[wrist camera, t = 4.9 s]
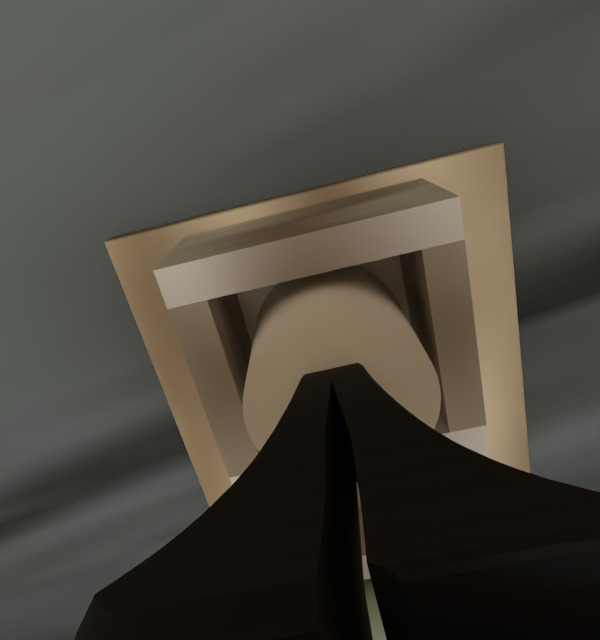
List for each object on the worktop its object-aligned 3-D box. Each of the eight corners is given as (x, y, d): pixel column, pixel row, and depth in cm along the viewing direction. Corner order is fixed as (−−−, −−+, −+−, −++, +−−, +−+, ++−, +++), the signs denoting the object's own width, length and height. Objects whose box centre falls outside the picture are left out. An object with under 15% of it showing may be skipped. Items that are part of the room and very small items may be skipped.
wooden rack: (497, 142, 14) (568, 150, 11) (547, 721, 25) (591, 827, 21) (108, 239, 15) (50, 277, 12) (312, 758, 26) (316, 866, 22)
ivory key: (390, 246, 14) (426, 294, 10) (414, 382, 15) (452, 466, 12) (237, 282, 14) (216, 341, 10) (276, 411, 16) (271, 502, 12)
